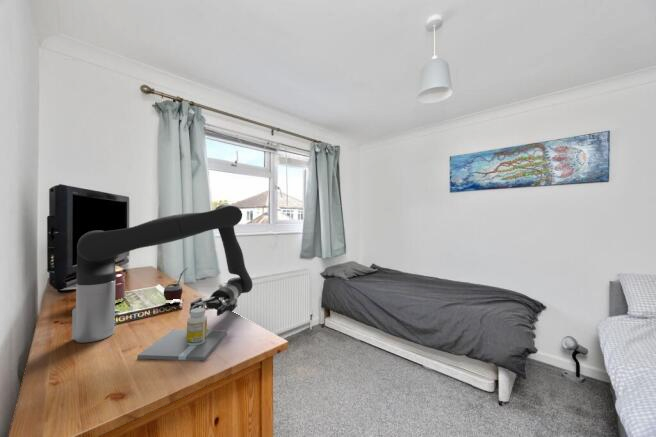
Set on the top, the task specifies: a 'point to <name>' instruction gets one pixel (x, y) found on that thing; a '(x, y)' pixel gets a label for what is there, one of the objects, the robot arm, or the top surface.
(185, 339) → the floor panel
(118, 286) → the canister
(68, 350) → the top surface
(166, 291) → the mate gourd
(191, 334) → the supplement bottle
